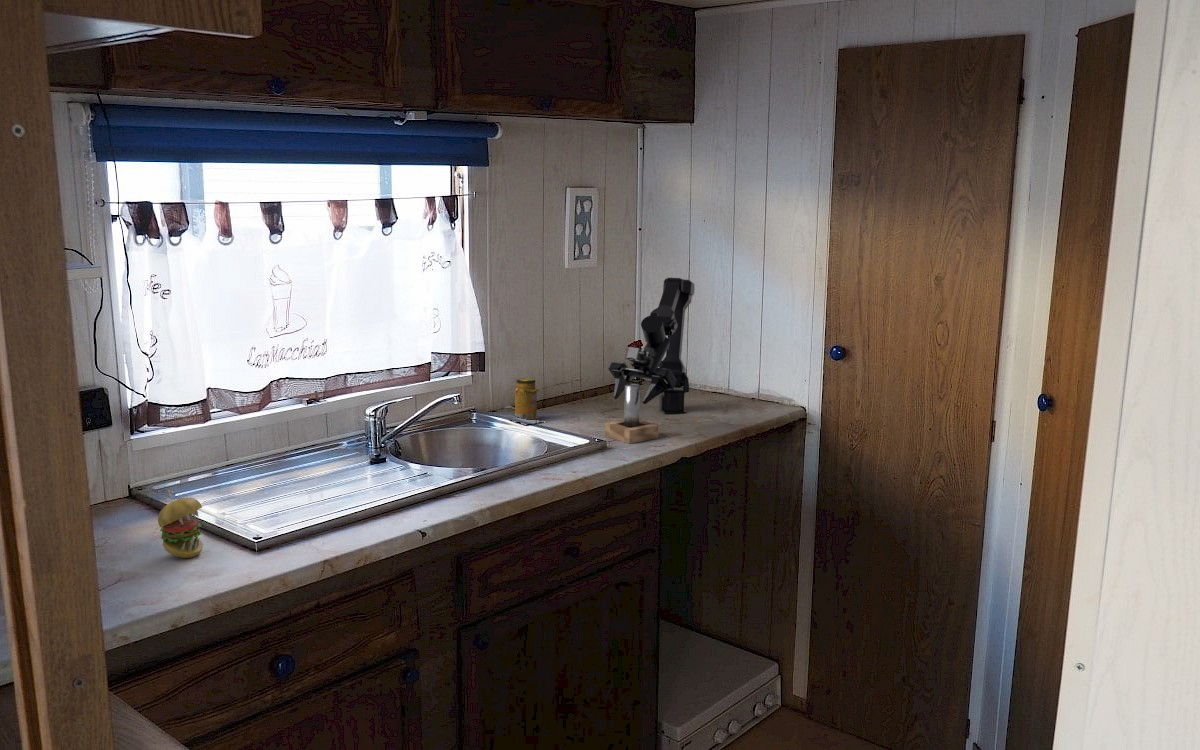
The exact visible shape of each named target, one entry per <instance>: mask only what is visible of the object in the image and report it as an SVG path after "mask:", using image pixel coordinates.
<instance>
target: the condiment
mask: <svg viewBox="0 0 1200 750" xmlns="http://www.w3.org/2000/svg"><path fill="white" fill-rule="evenodd" d="M515 382H516V385H515V386H516V388H515V390H514V418H515V417H517V418H521V419H526V420H536V419H537V406H538V405H537V404H538V403H537V402H538V401H537V400H538V399H537V397H538V395H537V393H538V392H537V388H536V379H535V378H531V377H520V378H519V377H518V378H517V379H516V381H515ZM543 421H544V420H543ZM544 423H546V421H544Z"/></svg>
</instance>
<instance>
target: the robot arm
mask: <svg viewBox="0 0 1200 750" xmlns="http://www.w3.org/2000/svg"><path fill="white" fill-rule="evenodd" d="M662 287H663V288H662V294H661V298H660V300H659V303H658V306H657V307H656V308H655V309H652V311H651V312H650V314H649V315H648V316H646V317H644V318H642V321H641V322H640V324H641V325H640V327H641V331H642V334H643V338H644V342H646V344H645V346H644V347H643V348H640V347H632V346H628V347H627V349H626V353H625V357H624V358H625V360H628V361H630V365H631V367H633V368H629V367H628V366H627V364H626V363H625V362H619V361H612V362H611V363H610V364H609V366H608V369H607V370H608V371H609V373H611V375H612V377H613V378H614V389H613V391H614V392H613V399H614V400H617V399H619V397H621V395H622V393H623V392H624V391H625V385H626V384H629V383H628V382H629V381H630V380H631V378H632V377H633V378H639V379H642V380H650V385H649V387H648V389H647V391H646V393H645V394H644V397H643V400H642V404H643V405H646V404H648V403H649V402H651V401H652V400H653V399H655V398H656V397H658V396H659V397H658V399H659V401H658V410H659V411H661V412H662V413H663V414H664V415H669V414H670V415H671V414H686V412H687V411H686V410H685V394H686V393H689V392H690V382H689V377H688V373H687V372H686V366H685V363H683V360H682V351H683V350H682V349H683V340H684V338H683V337H684V329H685V328H684V327H685V316H686V310H687V308H688V307H689V306H690V304H691V303H692V299H693V296H694V294H695V284H694V282H693V281H691V280H690V279H683V278H682V277H666V278H664V280H663V285H662Z"/></svg>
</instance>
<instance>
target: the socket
mask: <svg viewBox="0 0 1200 750" xmlns="http://www.w3.org/2000/svg"><path fill="white" fill-rule="evenodd" d="M604 437H607V438H610V439H614V440H617V441H619V442H623V443H627V444H628V445H629V444H630V445H631V444H635V443H640V442H641V443H642V442H645V441H650V440H655V439H658V438H659V425H658V424H656V423H652V422H649V421H645V420H641V419H639V426H638V427H633V428H629V427H626V426H624V419H622V420H615V421H611V422H605V424H604Z"/></svg>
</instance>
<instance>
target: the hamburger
mask: <svg viewBox="0 0 1200 750" xmlns="http://www.w3.org/2000/svg"><path fill="white" fill-rule="evenodd" d="M167 494H168V495H169V497H170V500H171V501H170V502H169V503H168V504H166V505H165V506H164V507H163V508H161V510H160V511H159V514H158V516H157V523H158V525H159V527H160V529H159V532H161V537H160V539H161V540H162V545H163V548H164V550H165V551H166V552H167V553H168V554H170V555H171V556H174V557H176V558H181V559H190V558H194V557H196V556H198V555H199V554H200V553H201V552H202V551H203V545H204V544H203V542H202V540H200V538H199V536H201V535H202V534H201V531H200V528H201V527H202V524H201V523H198V520H196V519H197V518H198V517H200V516H199V512H198V511H199V510H201V508H203V507H202V504H201V502H200V501H198V500H197V499H196V498H193V497H182V498H178V499H176V500H172V495H173V494H174V490H169V489H167ZM184 517H186V518H184ZM190 517H191V518H190ZM193 517H194V518H195V519H194V518H193ZM196 517H197V518H196Z"/></svg>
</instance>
